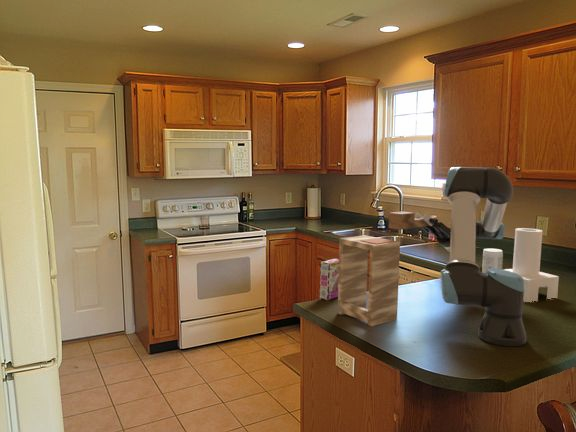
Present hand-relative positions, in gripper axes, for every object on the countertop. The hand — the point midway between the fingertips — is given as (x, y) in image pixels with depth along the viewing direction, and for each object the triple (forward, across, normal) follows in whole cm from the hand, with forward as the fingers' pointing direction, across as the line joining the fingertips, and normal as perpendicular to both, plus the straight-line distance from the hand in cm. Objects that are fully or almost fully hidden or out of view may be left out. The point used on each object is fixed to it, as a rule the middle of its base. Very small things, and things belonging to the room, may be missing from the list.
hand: (420, 215), depth 193 cm
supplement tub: (-83, +9, +4) cm, 84 cm away
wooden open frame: (+3, +4, -46) cm, 46 cm away
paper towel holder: (-68, -17, -5) cm, 70 cm away
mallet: (+1, 0, -5) cm, 5 cm away
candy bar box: (-3, +31, -43) cm, 53 cm away
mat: (+18, 0, -20) cm, 26 cm away
